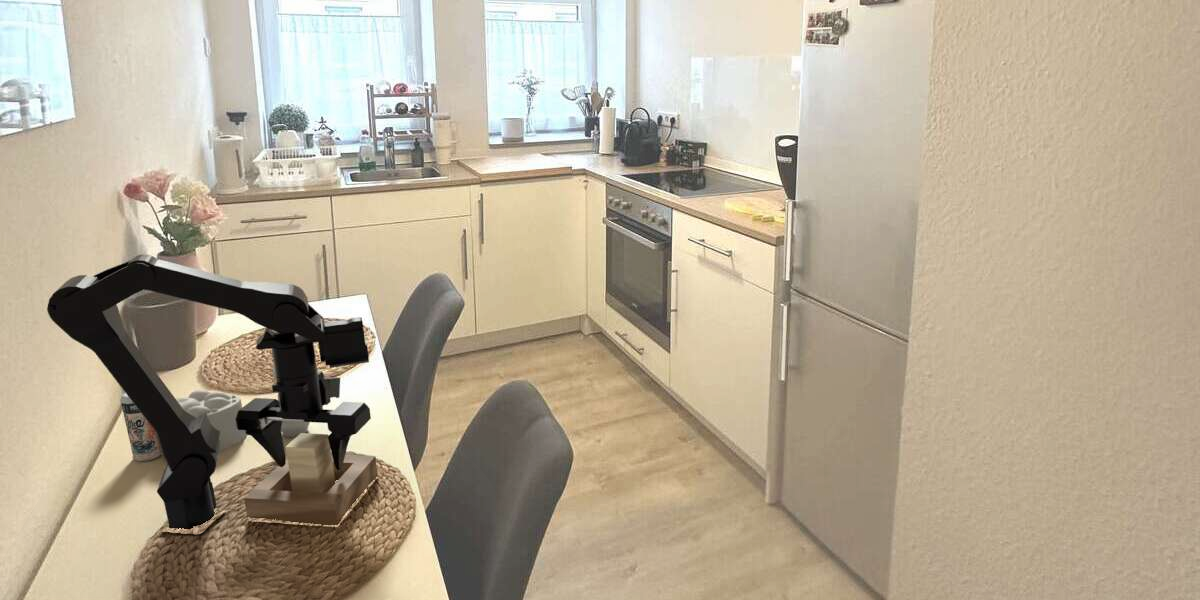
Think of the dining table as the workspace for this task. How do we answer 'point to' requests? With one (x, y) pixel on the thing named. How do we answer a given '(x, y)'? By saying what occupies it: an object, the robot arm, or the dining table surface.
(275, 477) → the socket block
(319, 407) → the robot arm
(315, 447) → the birch peg
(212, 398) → the lumpy-topped squat cylinder
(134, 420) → the beer can
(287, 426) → the salt shaker
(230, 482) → the dining table surface
